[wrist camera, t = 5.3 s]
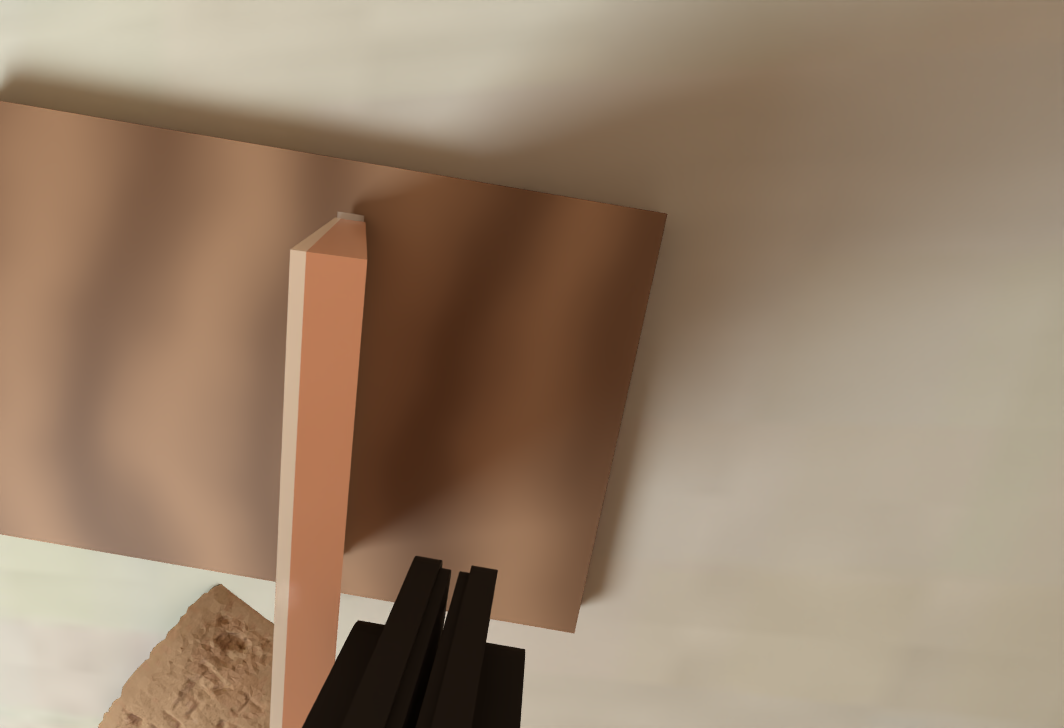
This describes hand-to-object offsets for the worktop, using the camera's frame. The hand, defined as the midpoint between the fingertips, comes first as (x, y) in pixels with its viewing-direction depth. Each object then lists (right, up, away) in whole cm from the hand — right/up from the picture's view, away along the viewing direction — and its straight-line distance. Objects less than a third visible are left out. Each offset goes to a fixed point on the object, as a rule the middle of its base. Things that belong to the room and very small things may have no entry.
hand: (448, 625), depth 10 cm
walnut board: (-8, +4, +12) cm, 15 cm away
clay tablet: (-14, -13, +17) cm, 26 cm away
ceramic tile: (-4, +2, +5) cm, 6 cm away
